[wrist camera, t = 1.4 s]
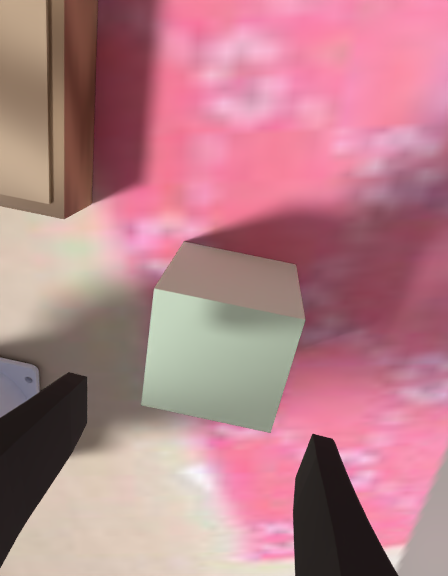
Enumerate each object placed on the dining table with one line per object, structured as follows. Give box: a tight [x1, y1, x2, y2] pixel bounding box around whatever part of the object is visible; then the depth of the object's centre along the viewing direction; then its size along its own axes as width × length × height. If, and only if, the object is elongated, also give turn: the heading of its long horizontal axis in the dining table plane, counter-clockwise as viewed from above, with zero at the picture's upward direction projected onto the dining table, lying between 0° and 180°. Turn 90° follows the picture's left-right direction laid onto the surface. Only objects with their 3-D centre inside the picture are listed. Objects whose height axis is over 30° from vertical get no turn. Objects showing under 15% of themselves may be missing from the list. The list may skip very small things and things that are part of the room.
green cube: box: [141, 242, 305, 433], centre depth 19 cm, size 6×6×6 cm
